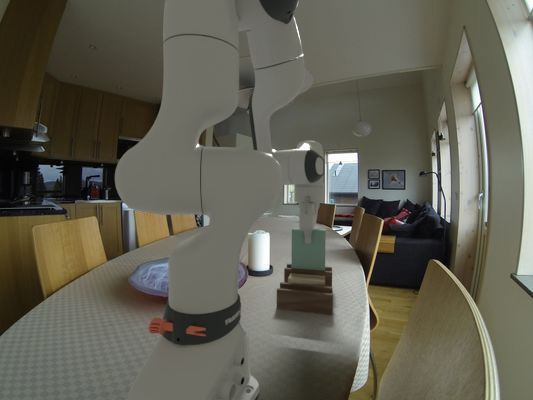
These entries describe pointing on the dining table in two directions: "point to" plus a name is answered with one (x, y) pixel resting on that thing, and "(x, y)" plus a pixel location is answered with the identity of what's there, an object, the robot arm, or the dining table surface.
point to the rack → (306, 293)
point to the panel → (308, 250)
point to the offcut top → (306, 279)
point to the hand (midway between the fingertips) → (308, 242)
